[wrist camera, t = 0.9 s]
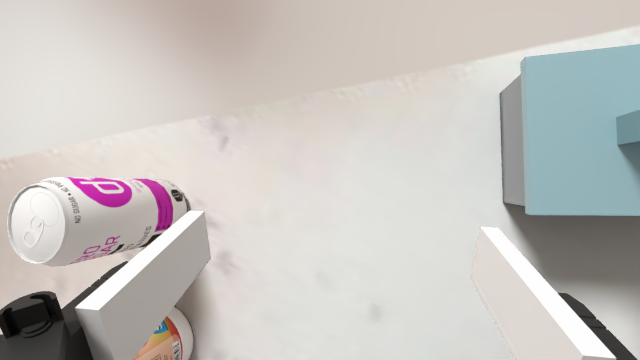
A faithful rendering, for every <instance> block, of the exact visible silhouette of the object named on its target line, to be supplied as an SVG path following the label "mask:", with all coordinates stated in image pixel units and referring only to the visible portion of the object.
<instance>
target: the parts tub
mask: <svg viewBox="0 0 640 360" xmlns="http://www.w3.org/2000/svg"><path fill="white" fill-rule="evenodd" d="M500 120H501V153H502V186H503V202H504V203H510V204H515V205H521V206H525V187H524V155H523V124H522V93H521V75H519V76H518V77H517V78H516V79H515V80H514V81H513V82H512V83H511V84H510V85H509V86H507V87H506V88H505V89H504V90H503V91H502V92H501V93H500Z"/></svg>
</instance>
